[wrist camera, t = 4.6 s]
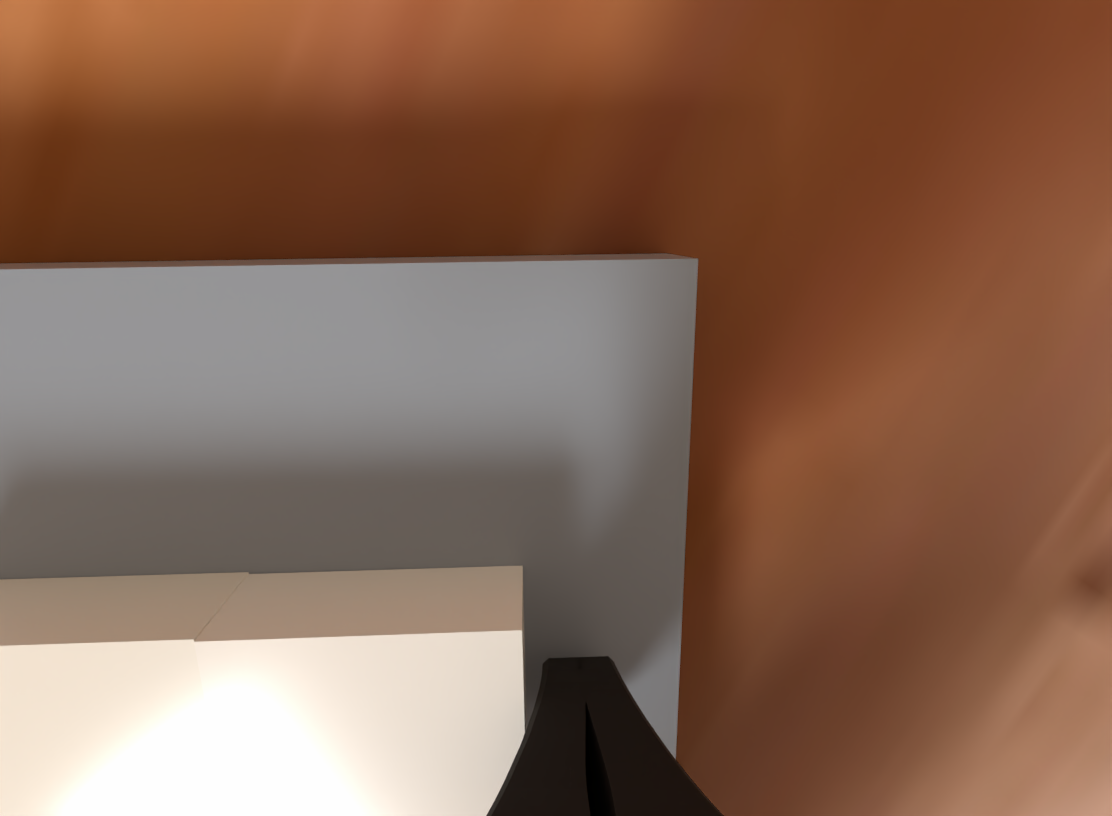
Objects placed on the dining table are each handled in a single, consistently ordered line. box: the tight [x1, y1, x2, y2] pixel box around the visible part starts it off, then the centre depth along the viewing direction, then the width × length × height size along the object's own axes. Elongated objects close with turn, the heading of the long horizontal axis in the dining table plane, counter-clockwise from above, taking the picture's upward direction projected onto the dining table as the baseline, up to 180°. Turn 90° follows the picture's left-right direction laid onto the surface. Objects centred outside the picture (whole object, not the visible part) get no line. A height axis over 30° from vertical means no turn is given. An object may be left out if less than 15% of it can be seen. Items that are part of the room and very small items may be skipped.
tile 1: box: [194, 565, 527, 816], centre depth 12 cm, size 5×5×2 cm
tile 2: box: [0, 572, 249, 816], centre depth 11 cm, size 5×5×2 cm
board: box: [0, 253, 698, 759], centre depth 14 cm, size 16×15×2 cm
